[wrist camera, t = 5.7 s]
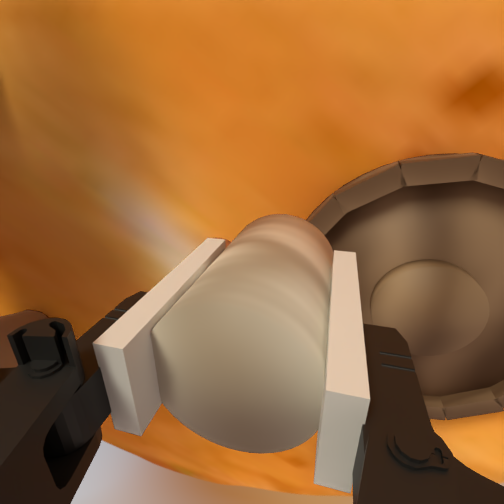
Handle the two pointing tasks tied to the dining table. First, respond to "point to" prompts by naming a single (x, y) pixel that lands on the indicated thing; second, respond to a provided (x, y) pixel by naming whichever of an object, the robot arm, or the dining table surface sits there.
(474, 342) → the groove tray
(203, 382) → the cream bead
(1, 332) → the vase
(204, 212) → the dining table surface
